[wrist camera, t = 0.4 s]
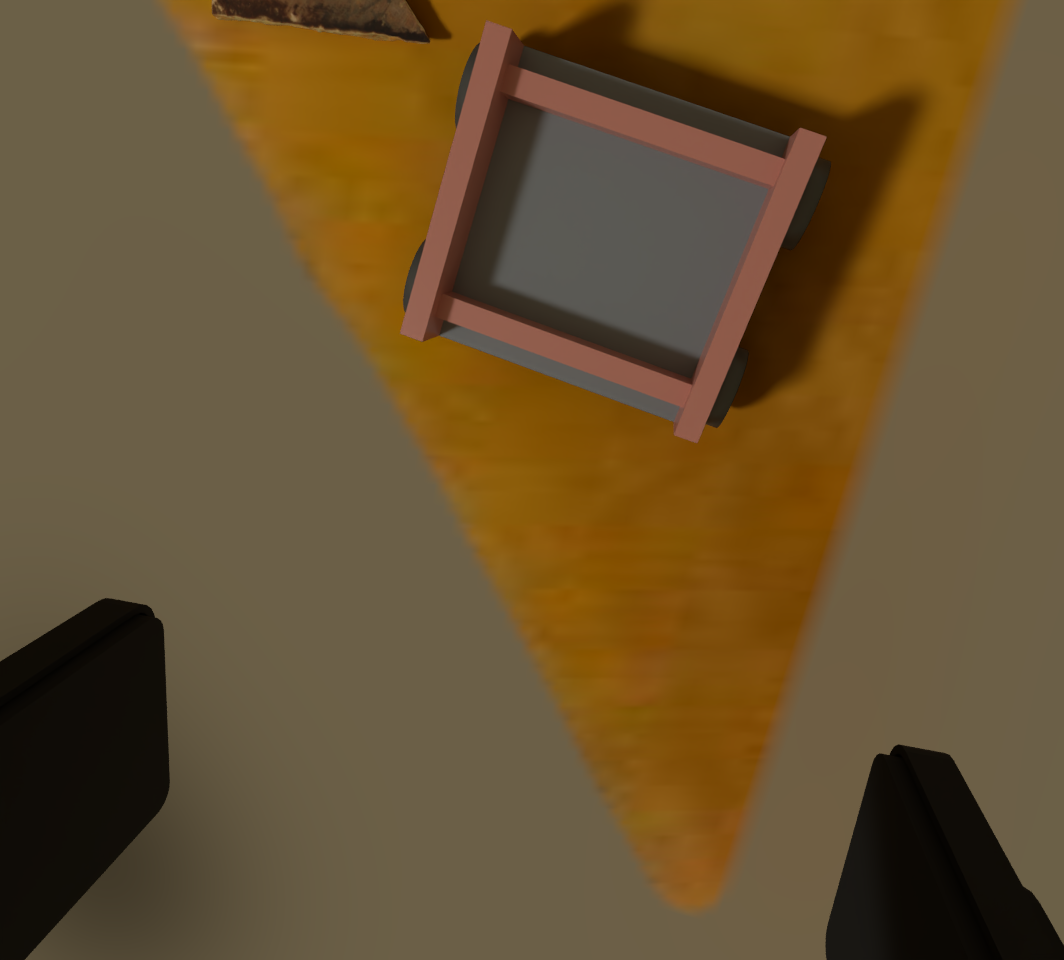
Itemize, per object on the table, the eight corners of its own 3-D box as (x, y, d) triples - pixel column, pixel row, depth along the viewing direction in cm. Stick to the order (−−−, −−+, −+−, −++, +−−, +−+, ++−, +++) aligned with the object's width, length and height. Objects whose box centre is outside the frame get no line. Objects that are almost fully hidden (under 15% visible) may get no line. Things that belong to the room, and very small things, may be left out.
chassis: (495, 48, 34) (463, 12, 29) (823, 160, 33) (851, 144, 28) (420, 315, 38) (380, 325, 33) (711, 422, 37) (718, 451, 32)
